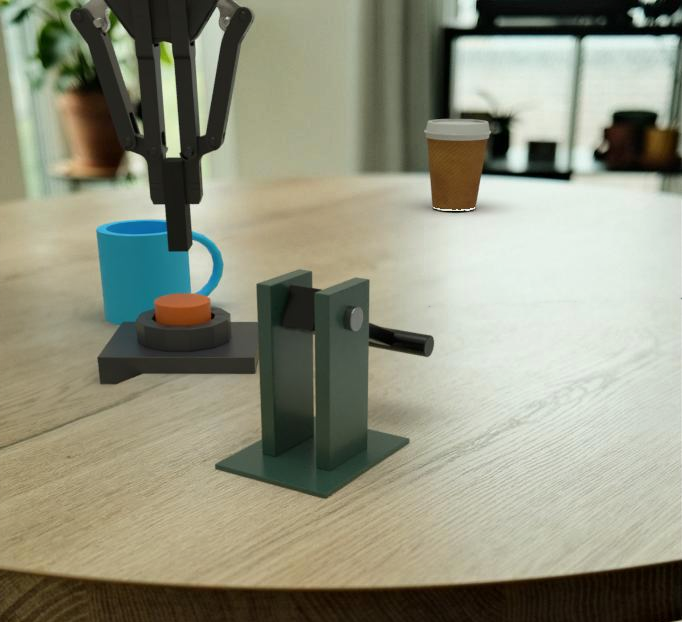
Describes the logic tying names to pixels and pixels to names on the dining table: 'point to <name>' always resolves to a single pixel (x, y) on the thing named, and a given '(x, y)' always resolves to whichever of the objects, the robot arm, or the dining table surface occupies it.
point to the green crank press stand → (298, 393)
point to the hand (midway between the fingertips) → (180, 247)
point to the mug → (145, 267)
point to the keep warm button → (182, 309)
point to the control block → (179, 348)
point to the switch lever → (303, 319)
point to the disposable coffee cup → (456, 161)
